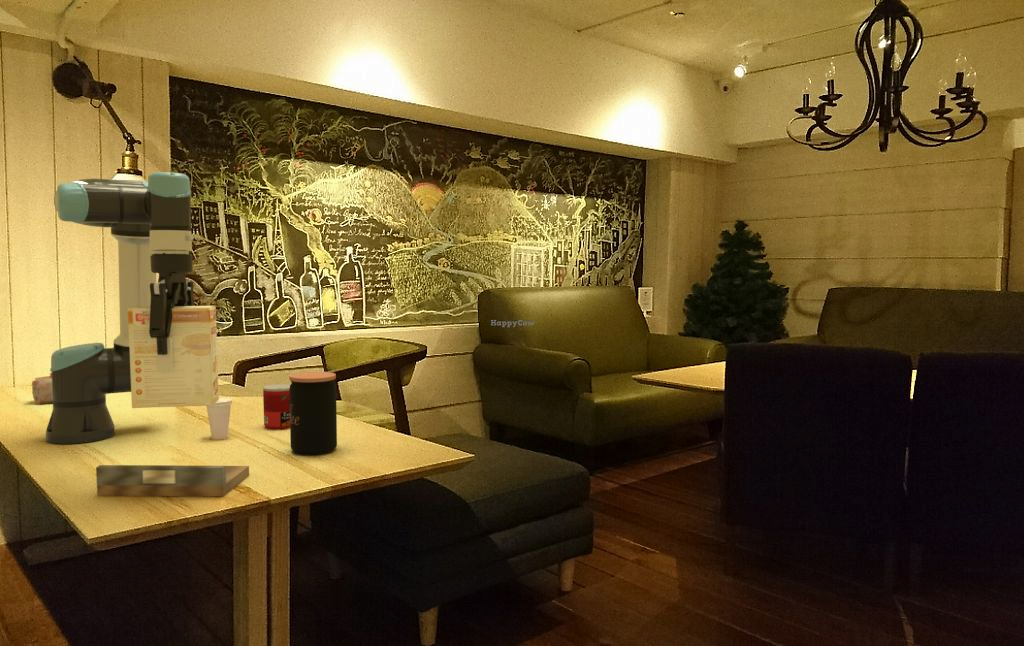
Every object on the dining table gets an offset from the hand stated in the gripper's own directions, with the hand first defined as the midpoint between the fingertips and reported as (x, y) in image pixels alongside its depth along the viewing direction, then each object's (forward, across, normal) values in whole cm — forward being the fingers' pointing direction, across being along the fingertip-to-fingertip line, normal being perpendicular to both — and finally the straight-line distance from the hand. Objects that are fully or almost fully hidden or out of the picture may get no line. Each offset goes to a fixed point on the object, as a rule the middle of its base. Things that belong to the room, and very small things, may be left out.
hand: (175, 368), depth 150 cm
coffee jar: (+24, +27, -20) cm, 41 cm away
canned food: (+24, +52, -4) cm, 57 cm away
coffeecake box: (+8, 0, 0) cm, 8 cm away
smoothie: (+24, +39, +7) cm, 46 cm away
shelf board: (+23, -1, 0) cm, 23 cm away
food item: (+24, +86, +77) cm, 118 cm away
